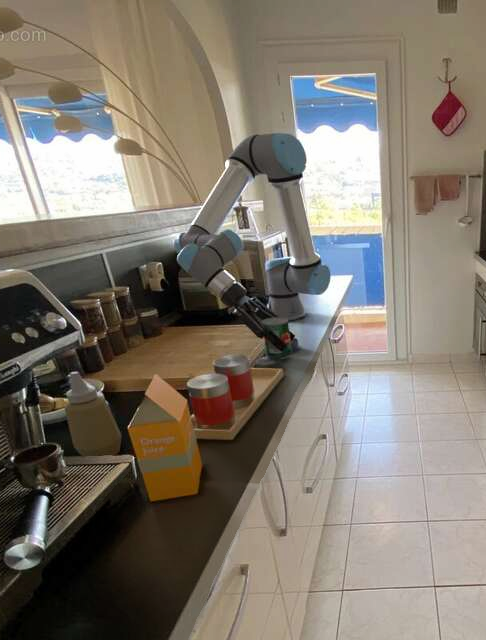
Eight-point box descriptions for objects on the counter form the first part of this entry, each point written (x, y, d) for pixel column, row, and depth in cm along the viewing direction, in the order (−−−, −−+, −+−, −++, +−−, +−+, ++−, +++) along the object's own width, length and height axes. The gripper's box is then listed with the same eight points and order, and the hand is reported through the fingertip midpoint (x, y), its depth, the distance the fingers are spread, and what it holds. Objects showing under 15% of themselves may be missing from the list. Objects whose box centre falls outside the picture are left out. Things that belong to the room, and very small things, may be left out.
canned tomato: (263, 353, 140) (258, 319, 135) (288, 349, 143) (284, 315, 139) (269, 361, 134) (263, 325, 129) (295, 356, 137) (290, 322, 132)
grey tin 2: (281, 345, 150) (279, 337, 149) (301, 346, 150) (300, 337, 149) (274, 352, 144) (273, 343, 143) (295, 353, 144) (294, 344, 142)
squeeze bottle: (69, 463, 87) (35, 379, 79) (103, 442, 94) (75, 363, 86) (103, 469, 85) (72, 383, 78) (135, 447, 93) (110, 366, 85)
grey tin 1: (262, 365, 134) (260, 355, 133) (284, 365, 134) (283, 356, 133) (253, 374, 128) (252, 364, 127) (277, 374, 128) (276, 365, 126)
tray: (243, 375, 127) (242, 367, 126) (283, 376, 126) (282, 368, 125) (179, 439, 95) (176, 429, 94) (232, 441, 95) (230, 431, 94)
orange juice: (149, 501, 77) (116, 397, 68) (159, 473, 84) (130, 375, 76) (198, 493, 79) (172, 391, 70) (203, 466, 86) (181, 370, 78)
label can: (207, 416, 104) (198, 372, 99) (241, 417, 103) (233, 373, 98) (190, 434, 96) (179, 388, 92) (227, 435, 96) (217, 389, 91)
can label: (229, 394, 114) (221, 354, 110) (260, 395, 114) (254, 355, 109) (215, 409, 107) (206, 366, 102) (248, 410, 107) (240, 367, 102)
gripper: (235, 291, 141) (291, 340, 147) (204, 308, 123) (269, 364, 129) (248, 274, 138) (305, 325, 145) (219, 289, 120) (285, 347, 126)
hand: (288, 343), depth 137 cm, fingers closed on canned tomato, 8 cm apart
